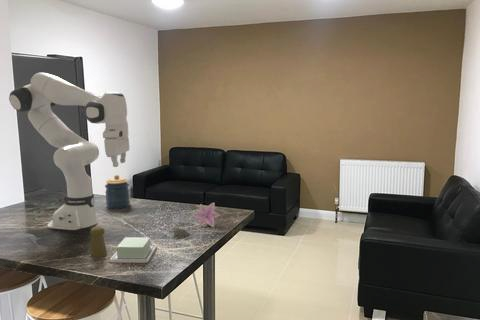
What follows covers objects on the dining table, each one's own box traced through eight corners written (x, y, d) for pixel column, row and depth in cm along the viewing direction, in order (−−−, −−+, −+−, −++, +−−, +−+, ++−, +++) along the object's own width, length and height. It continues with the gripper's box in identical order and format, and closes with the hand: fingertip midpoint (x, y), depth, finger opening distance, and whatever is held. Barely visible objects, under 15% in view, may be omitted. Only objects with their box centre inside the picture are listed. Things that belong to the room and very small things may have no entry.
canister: (126, 209, 212) (124, 177, 209) (102, 209, 212) (100, 177, 209) (133, 202, 224) (131, 172, 222) (110, 202, 225) (109, 172, 222)
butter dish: (110, 262, 145) (109, 249, 144) (122, 247, 158) (121, 235, 158) (147, 262, 144) (147, 249, 143) (156, 247, 158) (156, 235, 157)
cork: (93, 251, 154) (91, 225, 153) (108, 251, 155) (107, 224, 153) (88, 258, 148) (86, 230, 147) (104, 257, 149) (103, 230, 147)
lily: (189, 225, 188) (189, 212, 182) (203, 210, 196) (203, 197, 190) (210, 236, 184) (211, 223, 178) (223, 221, 192) (224, 207, 186)
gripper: (117, 129, 171) (119, 160, 173) (100, 134, 150) (103, 169, 153) (131, 129, 170) (133, 160, 173) (117, 133, 150) (119, 169, 153)
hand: (119, 164), depth 162 cm, fingers open, 8 cm apart
